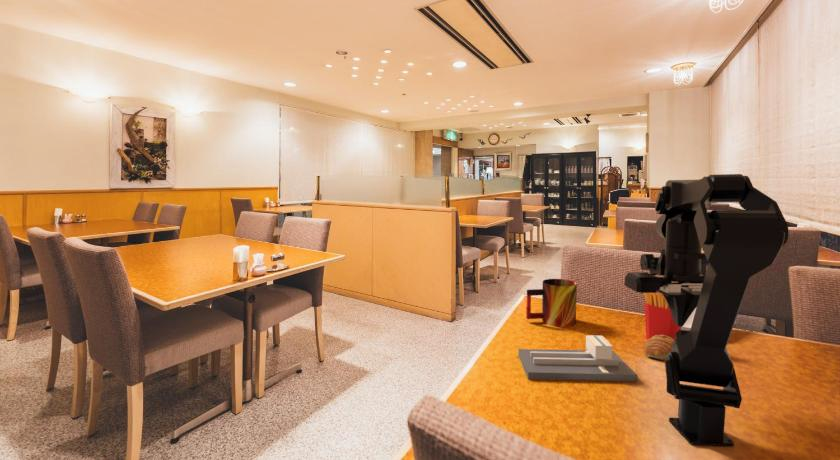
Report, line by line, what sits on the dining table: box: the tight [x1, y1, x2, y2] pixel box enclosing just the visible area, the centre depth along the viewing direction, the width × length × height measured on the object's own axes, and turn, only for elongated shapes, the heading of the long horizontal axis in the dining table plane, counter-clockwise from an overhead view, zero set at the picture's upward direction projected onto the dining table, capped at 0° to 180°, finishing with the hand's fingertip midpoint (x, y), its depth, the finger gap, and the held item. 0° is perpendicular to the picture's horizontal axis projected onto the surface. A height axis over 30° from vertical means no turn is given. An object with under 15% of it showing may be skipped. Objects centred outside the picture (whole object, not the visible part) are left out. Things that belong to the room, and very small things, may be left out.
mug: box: [525, 278, 578, 328], centre depth 116 cm, size 10×14×12 cm
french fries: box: [643, 292, 681, 341], centre depth 100 cm, size 9×4×13 cm, turn 33°
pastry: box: [643, 335, 674, 361], centre depth 93 cm, size 9×7×4 cm
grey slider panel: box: [517, 348, 638, 383], centre depth 87 cm, size 12×22×3 cm, turn 85°
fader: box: [585, 334, 614, 360], centre depth 86 cm, size 6×4×5 cm, turn 175°
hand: (678, 325), depth 75 cm, fingers closed
